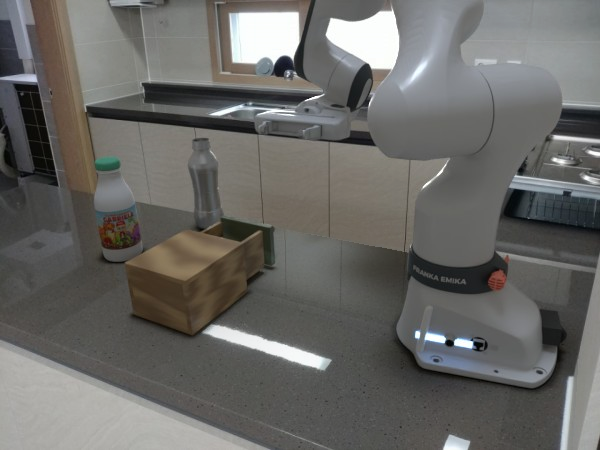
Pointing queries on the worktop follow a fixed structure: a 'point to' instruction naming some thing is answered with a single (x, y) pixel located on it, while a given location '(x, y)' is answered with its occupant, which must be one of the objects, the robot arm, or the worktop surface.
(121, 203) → the milk bottle
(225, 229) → the drawer
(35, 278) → the worktop surface
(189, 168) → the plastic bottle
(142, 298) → the cabinet
